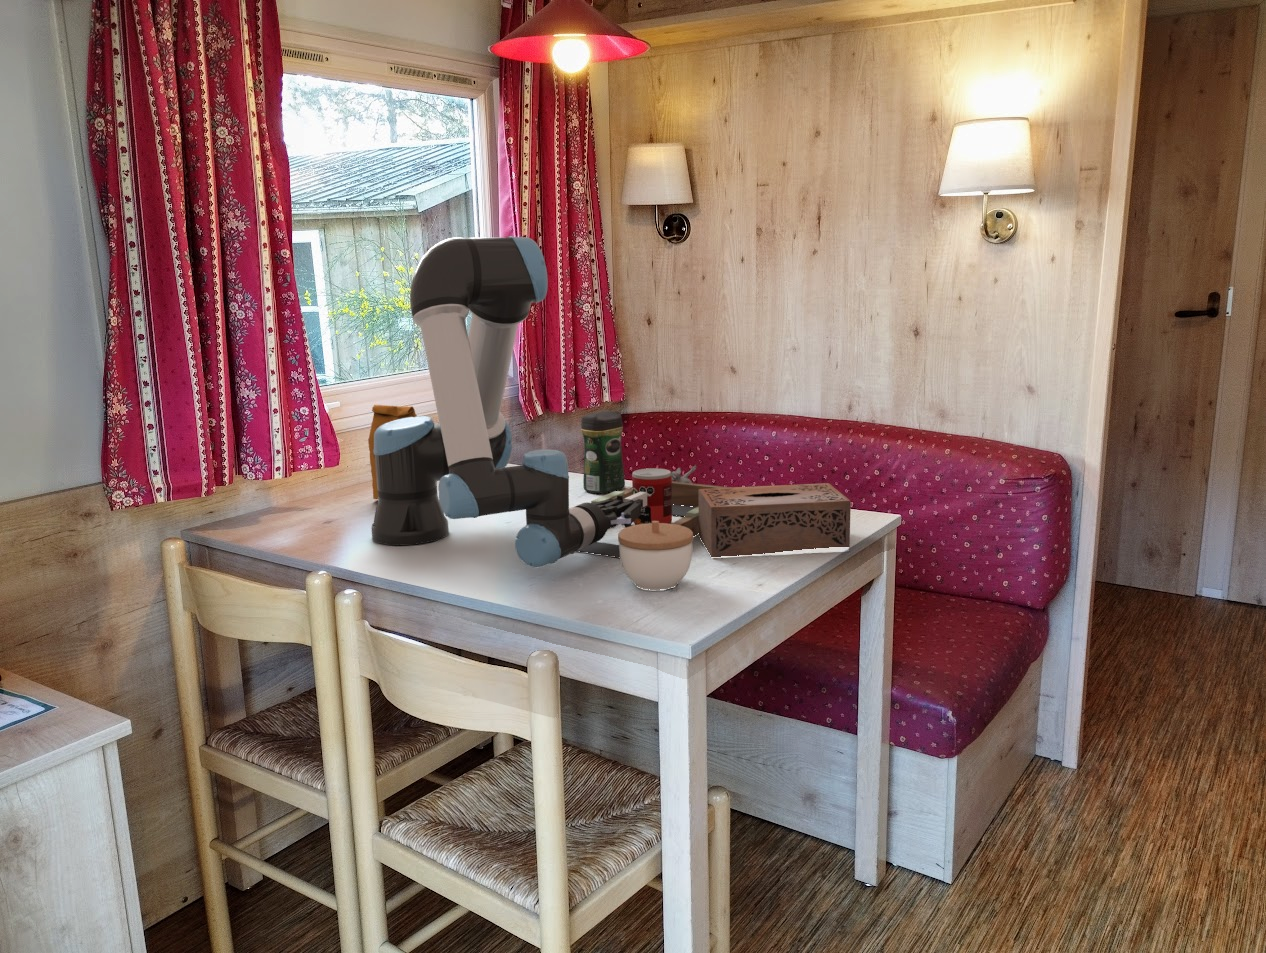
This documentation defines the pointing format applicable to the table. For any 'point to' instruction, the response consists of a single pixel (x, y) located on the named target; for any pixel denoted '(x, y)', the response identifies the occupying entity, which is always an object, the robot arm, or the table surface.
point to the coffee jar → (602, 452)
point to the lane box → (675, 501)
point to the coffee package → (380, 417)
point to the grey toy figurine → (683, 478)
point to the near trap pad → (602, 549)
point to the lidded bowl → (655, 554)
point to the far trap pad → (681, 510)
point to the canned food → (654, 494)
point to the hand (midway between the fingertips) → (643, 498)
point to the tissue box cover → (773, 519)
